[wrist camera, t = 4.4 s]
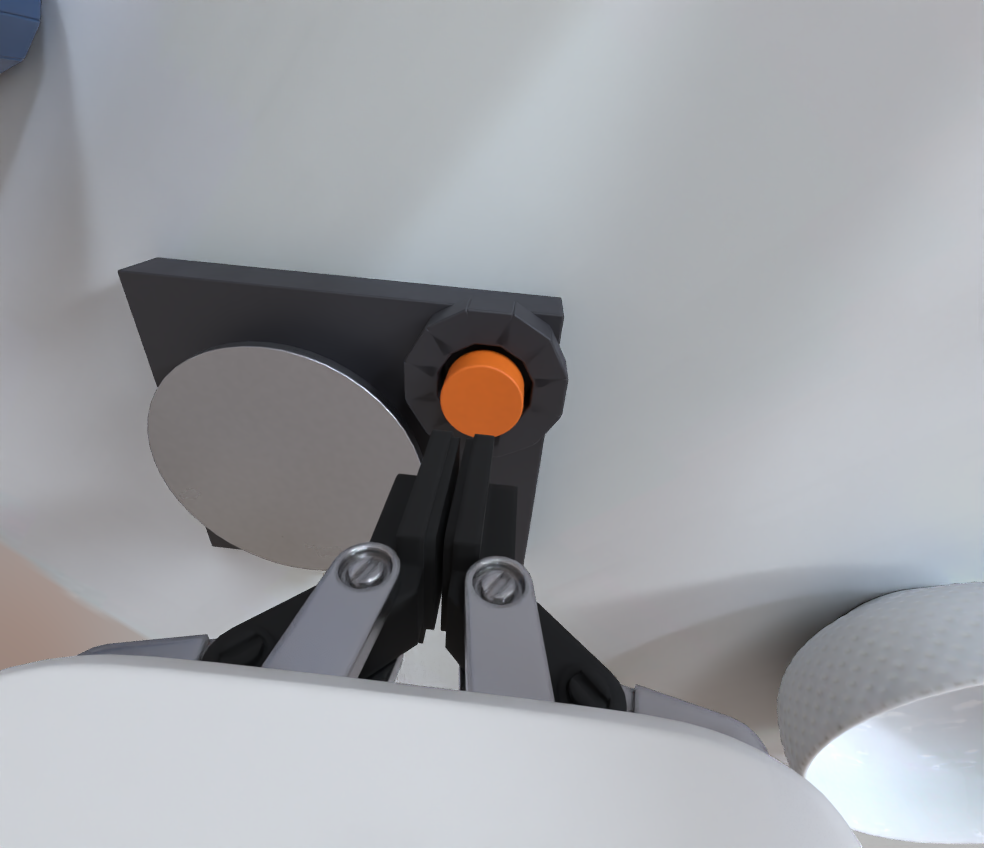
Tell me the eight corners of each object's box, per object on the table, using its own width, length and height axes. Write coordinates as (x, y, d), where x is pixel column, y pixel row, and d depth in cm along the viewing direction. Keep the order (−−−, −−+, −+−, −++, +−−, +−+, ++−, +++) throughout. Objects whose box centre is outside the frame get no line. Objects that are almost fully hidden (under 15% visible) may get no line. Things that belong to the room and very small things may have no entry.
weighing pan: (427, 358, 16) (424, 364, 15) (427, 574, 22) (425, 583, 21) (113, 325, 16) (103, 330, 16) (196, 547, 22) (190, 555, 22)
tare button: (528, 353, 16) (528, 370, 15) (519, 422, 17) (518, 443, 16) (447, 345, 16) (440, 361, 15) (445, 414, 17) (438, 434, 16)
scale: (572, 289, 18) (579, 320, 15) (528, 552, 25) (526, 607, 22) (153, 247, 18) (79, 269, 15) (234, 518, 26) (194, 568, 23)
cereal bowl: (693, 678, 30) (731, 813, 24) (865, 487, 21) (993, 625, 15) (930, 733, 31) (1023, 874, 25) (1187, 573, 23) (1422, 732, 17)
